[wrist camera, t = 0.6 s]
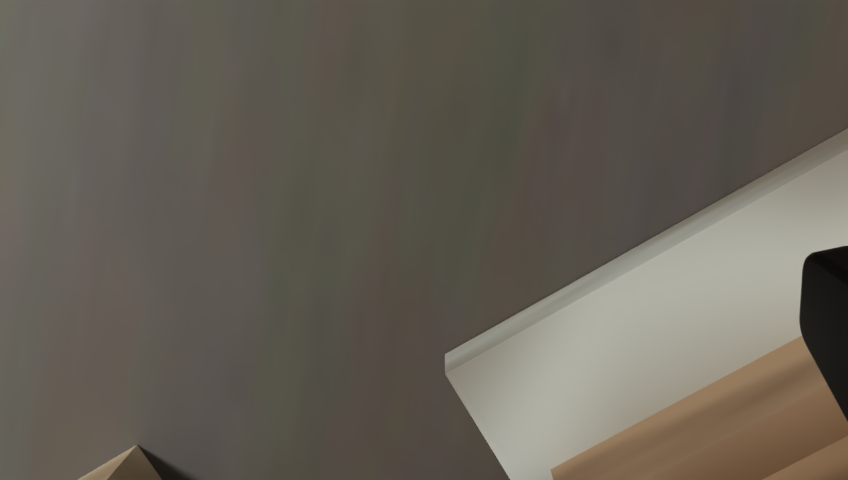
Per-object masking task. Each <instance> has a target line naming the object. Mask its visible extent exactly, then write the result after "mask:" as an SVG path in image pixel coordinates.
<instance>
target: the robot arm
mask: <svg viewBox="0 0 848 480" xmlns="http://www.w3.org/2000/svg"><path fill="white" fill-rule="evenodd" d="M799 324H800V330H801V334H802V337H803V340H804V342H805V344H806V346H807V348H808V350H809V352H810V354H811V355H812V357H813V359H814V361H815V363H816V365H817V367H818V368H819V370H820V372H821V374H822V376H823V378H824V379H825V381H826V383H827V385H828V387H829V389H830V391H831V392H832V394H833V396H834V398H835V400H836V402H837V403H838V405H839V407H840V409H841V411H842V413H843V414H844V416H845V418H846V420H847V422H848V246H841V247H836V248H832V249H827V250H822V251H817V252H813V253H811V254H810V255H809V256H807V257H806V259H805V261H804V264H803V269H802V283H801V297H800V312H799Z"/></svg>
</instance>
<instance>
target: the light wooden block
mask: <svg viewBox="0 0 848 480" xmlns="http://www.w3.org/2000/svg"><path fill="white" fill-rule="evenodd" d="M78 480H162V479H161V477H160V476H159V475H158V473H157V472H156V470H155V469H154V468H153V466H152V465H151V463H150V462H149V461H148V459H147V458H146V456H145V455H144V454H143V452H142V451H141V449H140V448H139V446H138V445H136V446H134V447H132V448H131V449H129V450H127V451H125V452H124V453H122V454H120V455H119V456H117V457H115V458H114V459H112V460H110V461H109V462H107V463H105V464H103V465H102V466H100V467H98V468H97V469H95V470H93V471H92V472H90V473H88V474H86V475H85V476H83V477H81V478H80V479H78Z"/></svg>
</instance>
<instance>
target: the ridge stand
mask: <svg viewBox="0 0 848 480" xmlns="http://www.w3.org/2000/svg"><path fill="white" fill-rule="evenodd" d="M841 246H848V128H847V129H846V130H844V131H842V132H840V133H838V134H837V135H835V136H833V137H831V138H830V139H828V140H826V141H824V142H822V143H821V144H819V145H817V146H815V147H813V148H812V149H810V150H808V151H806V152H805V153H803V154H801V155H799V156H797V157H796V158H794V159H792V160H790V161H789V162H787V163H785V164H783V165H781V166H780V167H778V168H776V169H774V170H772V171H771V172H769V173H767V174H765V175H764V176H762V177H760V178H758V179H756V180H755V181H753V182H751V183H749V184H748V185H746V186H744V187H742V188H740V189H739V190H737V191H735V192H733V193H731V194H730V195H728V196H726V197H724V198H723V199H721V200H719V201H717V202H715V203H714V204H712V205H710V206H708V207H707V208H705V209H703V210H701V211H699V212H698V213H696V214H694V215H692V216H691V217H689V218H687V219H685V220H683V221H682V222H680V223H678V224H676V225H674V226H673V227H671V228H669V229H667V230H666V231H664V232H662V233H660V234H658V235H657V236H655V237H653V238H651V239H650V240H648V241H646V242H644V243H642V244H641V245H639V246H637V247H635V248H633V249H632V250H630V251H628V252H626V253H625V254H623V255H621V256H619V257H617V258H616V259H614V260H612V261H610V262H609V263H607V264H605V265H603V266H601V267H600V268H598V269H596V270H594V271H592V272H591V273H589V274H587V275H585V276H584V277H582V278H580V279H578V280H576V281H575V282H573V283H571V284H569V285H568V286H566V287H564V288H562V289H560V290H559V291H557V292H555V293H553V294H552V295H550V296H548V297H546V298H544V299H543V300H541V301H539V302H537V303H535V304H534V305H532V306H530V307H528V308H527V309H525V310H523V311H521V312H519V313H518V314H516V315H514V316H512V317H511V318H509V319H507V320H505V321H503V322H502V323H500V324H498V325H496V326H494V327H493V328H491V329H489V330H487V331H486V332H484V333H482V334H480V335H478V336H477V337H475V338H473V339H471V340H470V341H468V342H466V343H464V344H462V345H461V346H459V347H457V348H455V349H453V350H452V351H450V352H448V353H446V354H445V374H446V376H447V378H448V379H449V381H450V383H451V384H452V386H453V387H454V389H455V391H456V392H457V394H458V396H459V397H460V399H461V400H462V402H463V404H464V405H465V407H466V408H467V410H468V412H469V413H470V415H471V417H472V418H473V420H474V421H475V423H476V425H477V426H478V428H479V430H480V431H481V433H482V434H483V436H484V438H485V439H486V441H487V442H488V444H489V446H490V447H491V449H492V451H493V452H494V454H495V455H496V457H497V459H498V460H499V462H500V464H501V465H502V467H503V468H504V470H505V472H506V473H507V475H508V476H509V478H510V480H848V422H847V420H846V418H845V416H844V414H843V413H842V411H841V409H840V407H839V405H838V403H837V402H836V400H835V398H834V396H833V394H832V392H831V391H830V389H829V387H828V385H827V383H826V381H825V379H824V378H823V376H822V374H821V372H820V370H819V368H818V367H817V365H816V363H815V361H814V359H813V357H812V355H811V354H810V352H809V350H808V348H807V346H806V344H805V342H804V340H803V337H802V334H801V330H800V324H799V312H800V297H801V283H802V269H803V264H804V261H805V259H806V257H807V256H809V255H810V254H811V253H813V252H817V251H822V250H827V249H832V248H836V247H841Z"/></svg>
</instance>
